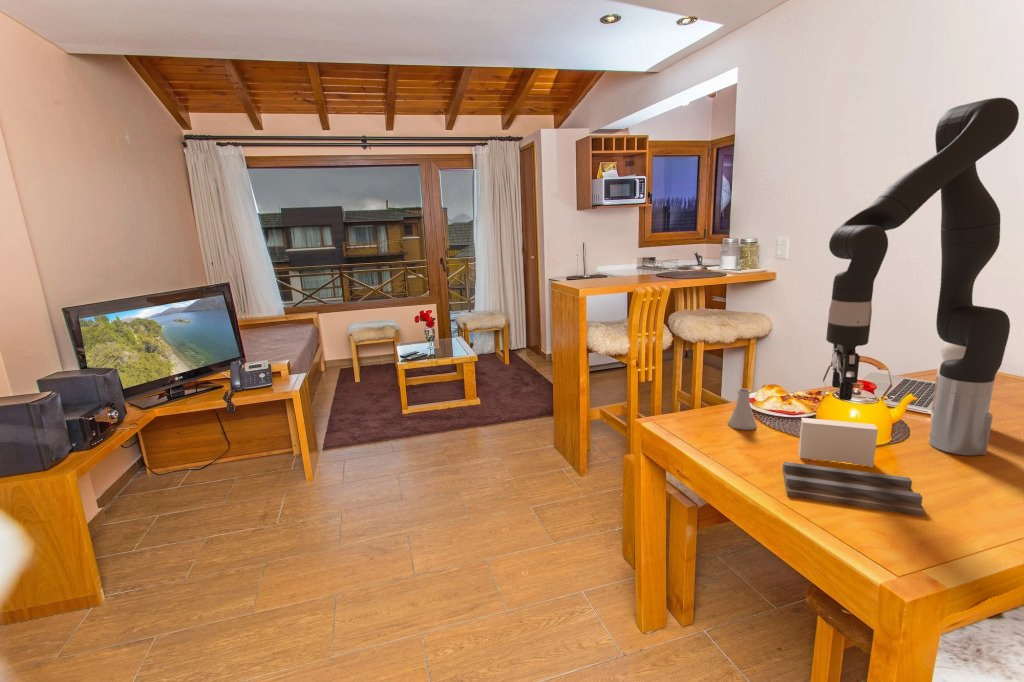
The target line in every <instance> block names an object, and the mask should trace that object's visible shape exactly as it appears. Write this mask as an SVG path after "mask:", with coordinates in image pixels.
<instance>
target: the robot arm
mask: <svg viewBox="0 0 1024 682" xmlns="http://www.w3.org/2000/svg"><path fill="white" fill-rule="evenodd" d="M1019 118H1020V112H1019V107H1018V105H1017V104H1016V103H1015V101H1013V100H1012V99H1011V98H1006V97H993V98H987V99H983V100H979V101H973V102H970V103H966V104H961V105H958V106H954V107H952V108H950V109H948V110H947V111H945V112H944V113H943V114H942V115H941V117H940V118H939V120H938V122H937V124H936V127H935V128H936V129H935V137H934V139H935V142H934V143H935V151H936V154H934V155H933V156H931V157H930V158H928V159H926V160H925V161H924V162H922V163H921V164H919V165H917V166H915V167H914V168H912V169H910V170H909V171H907V172H906V173H904V174H903V175H902V176H900V177H899V178H897V179H896V180H895V181H894V182H892V183H891V184H890V185H889V186H888V187H887V188H886V189H885V190H884V191H883V192H881V194H880V195H879V196H878V197H877V198H876V199H875V200H874V201H873V202H872V203H871V204H870V205H869V206H867V207H865V208H863V209H862V210H860V211H859V212H858V213H856V214H855V215H853V216H852V217H850V218H849V219H847V220H845V222H843V223H842V224H841V225H839V227H837V228H836V229H835V231H834V232H833V233H832V235H831V237H830V238H829V239H830V240H829V242H828V248H829V251H830V253H831V254H832V255H833V256H834V257H836V258H837V259H841V260H850V263H849V265H848V267H847V270H844V271H840V272H838V273H836V275H835V276H834V278H833V282H832V293H831V299H830V301H831V302H830V305H829V309H828V318H827V327H826V328H827V329H826V339H825V340H826V342H828V343H830V344H832V345H833V347H832V356H831V362H830V365H831V369H832V379H831V387H832V388H836V389H839V391H838V398H839V400H841V401H851V400H852V398H853V391H854V389H853V388H854V384H857V383H858V381H859V380H858V377H859V366H860V359H861V356H860V354H859V353H858V352H857V351H856V350H857V349H856V348H857V347H861V346H866V345H867V344H868V343H869V340H870V339H869V337H870V331H871V323H872V314H873V309H872V303H873V302H872V300H873V293H874V284H875V280H876V277H877V275H878V273H879V271H880V269H881V266H882V264H883V262H884V260H885V257H886V255H887V252H888V248H889V239H888V235H887V233H886V231H890V230H894V229H897V228H899V227H900V226H902V225H903V224H904V223H905V222H907V221H908V220H909V219H910V218H911V217H912V216H913V215H914V214H915V213H916V212H918V210H919V209H920V208H921V207H922V206H924V205H925V203H926V202H927V201H929V199H930V198H932V197H933V196H934V195H935V194H936V193H937V192H938V191H940V202H941V205H940V207H941V215H940V216H941V217H940V219H941V221H940V249H941V269H940V270H941V272H940V286H939V287H940V288H939V289H940V290H939V296H938V303H937V312H936V321H935V322H936V325H935V326H936V327H935V328H936V332H937V335H938V337H939V339H941V340H942V341H943V342H944V343H945V342H947V343H951V344H955V345H959V346H964V347H966V350H965V354H964V356H963V358H961V359H953V360H946V361H944V362H942V361H941V362H942V364H941V366H940V372H939V378H938V386H937V392H936V399H935V406H934V412H933V419H931V420H932V421H931V427H930V432H929V440H928V441H929V444H930V445H931V446H932V447H933V448H935V449H937V450H939V451H943V452H944V453H945V452H946V453H949V454H954V455H958V456H959V455H960V456H970V457H971V456H979V455H982V456H983V455H984V456H987V450H988V447H989V446H988V445H989V441H990V439H989V438H990V434H991V428H992V423H993V418H994V417H993V414H992V413H991V412H990V407H991V402H992V398H993V397H992V396H993V391H994V385H995V379H996V375H997V373H998V371H999V370H1000V368H1001V366H1002V363H1003V359H1004V356H1005V351H1006V347H1007V343H1008V340H1009V335H1010V331H1011V321H1010V317H1009V316H1008V314H1007V312H1005V311H1003V310H1001V309H999V308H998V309H997V308H995V307H994V308H993V307H987V306H980V305H979V306H978V305H974V304H973V295H974V294H973V291H974V285H975V281H976V280H977V278H978V276H979V274H980V273H981V272H982V270H983V269H984V268H985V267H986V265H988V263H989V262H990V261H991V259H992V258H993V256H994V255H995V253H996V251H997V250H998V249H999V246H1000V240H1001V239H1000V238H1001V212H1000V211H1001V210H1000V209H999V206H998V204H997V203H996V201H995V199H994V198H993V197H992V195H991V194H990V193H989V191H988V190H987V188H986V187H985V185H984V184H983V182H982V181H981V179H980V176H979V174H978V171H977V162H978V161H979V160H981V158H983V157H984V156H986V155H987V154H989V153H990V152H992V151H993V150H994V149H996V148H997V147H999V146H1000V145H1001V144H1002V143H1003V142H1005V141H1006V140H1007V139H1008V138H1010V136H1011V135H1012V134H1013V133H1014V131H1015V129H1016V127H1017V126H1018V122H1019ZM849 374H850V376H847V375H849Z"/></svg>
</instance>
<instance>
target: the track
mask: <svg viewBox="0 0 1024 682" xmlns="http://www.w3.org/2000/svg"><path fill="white" fill-rule="evenodd" d="M782 475H783V478H784V479H783V481H784V487H785V492H786V496H787V497H791V498H792V497H793V498H797V499H798V498H800V499H803V500H805V499H806V500H812V501H818V502H819V501H820V502H826V503H830V504H831V503H832V504H839V505H844V504H845V505H846V506H850V505H851V506H850V507H857V506H859V508H864V509H871V510H879V511H885V512H892V513H897V512H899V513H898V514H903V513H904V515H910V516H918V517H923V518H924V517H925V514H926V509H925V508H924V506H923V505H922V503H923V496H922V495H921V493H920V492H914V491H913V489H912V485H913V484H912V483H913V481H912V480H911V478H910V477H908V476H907V477H906V476H898V475H891V474H884V473H883V474H882V473H877V472H870V471H869V472H867V471H862V470H861V471H859V470H851V469H847V468H845V469H844V468H837V467H829V466H828V467H827V466H820V465H814V464H813V465H812V464H807V463H806V464H805V463H796V462H790V461H789V462H788V461H784V462H783V463H782Z"/></svg>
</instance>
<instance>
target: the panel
mask: <svg viewBox="0 0 1024 682" xmlns="http://www.w3.org/2000/svg"><path fill="white" fill-rule="evenodd" d="M800 419H801V421H800V431H799V441H798V442H799V443H798V452H799V453H798V456H800V457H799V459H800V458H805V459H804V460H808V459H815V460H814V461H816V460H826V461H836V462H846V463H852V464H858V465H865V466H870V467H869V468H872V467H873V468H874V465H875V464H874V463H875V455H876V449H877V448H876V447H877V440H878V432H879V430H878V428H877V426H876V425H875V424H874V423H873V424H871V423H865V422H864V423H863V422H852V421H851V422H850V421H844V420H843V421H842V420H831V419H820V418H808V417H800ZM806 458H807V459H806Z"/></svg>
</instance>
